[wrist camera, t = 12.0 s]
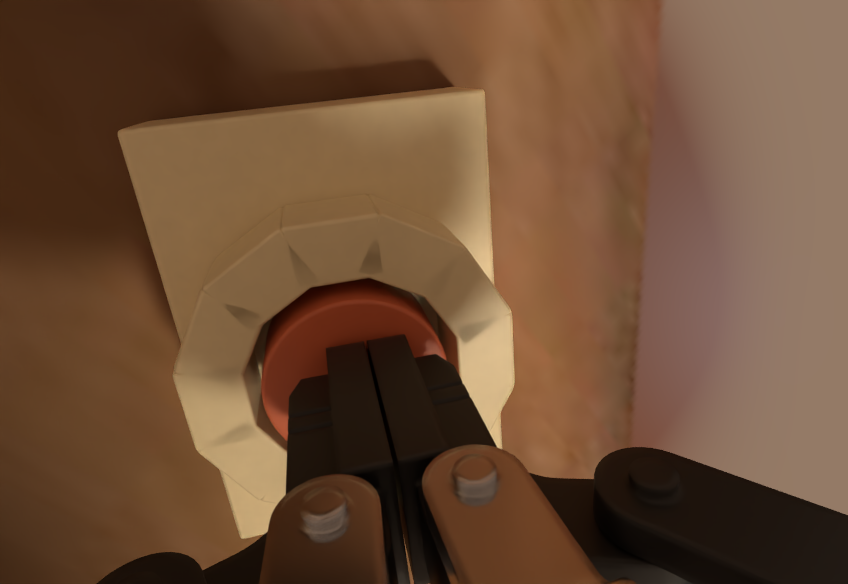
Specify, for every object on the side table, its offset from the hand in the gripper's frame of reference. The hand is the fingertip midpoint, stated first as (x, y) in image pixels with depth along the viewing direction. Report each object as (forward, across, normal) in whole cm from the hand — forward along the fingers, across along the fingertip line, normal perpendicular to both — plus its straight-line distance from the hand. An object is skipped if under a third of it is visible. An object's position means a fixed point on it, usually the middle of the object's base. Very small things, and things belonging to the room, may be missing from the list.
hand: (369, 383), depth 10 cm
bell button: (+2, 0, 0) cm, 2 cm away
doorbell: (+4, 0, 0) cm, 4 cm away
